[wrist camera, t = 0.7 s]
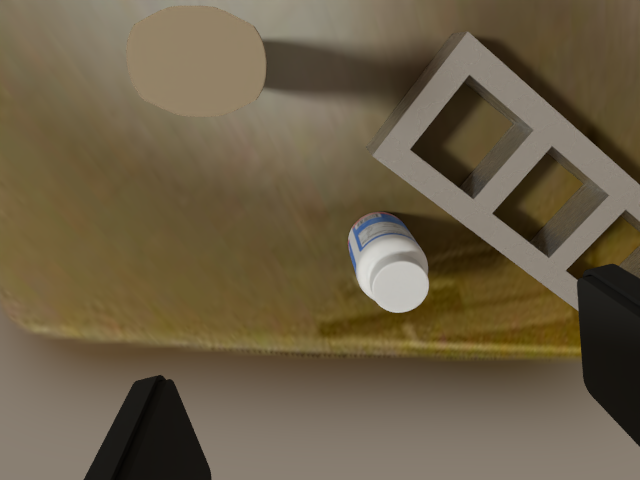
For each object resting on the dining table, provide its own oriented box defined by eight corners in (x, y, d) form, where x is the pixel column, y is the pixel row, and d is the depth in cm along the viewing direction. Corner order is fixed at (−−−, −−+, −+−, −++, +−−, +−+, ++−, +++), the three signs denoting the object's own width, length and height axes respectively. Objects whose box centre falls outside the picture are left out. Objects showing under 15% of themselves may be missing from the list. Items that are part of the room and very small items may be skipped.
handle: (279, 94, 37) (267, 116, 23) (196, 93, 37) (133, 116, 23) (277, 26, 35) (264, 6, 21) (190, 25, 35) (119, 5, 21)
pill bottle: (396, 273, 43) (422, 331, 34) (339, 259, 42) (351, 314, 33) (417, 218, 41) (450, 263, 32) (358, 202, 41) (375, 244, 32)
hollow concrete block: (365, 147, 39) (372, 155, 36) (452, 34, 36) (467, 31, 33) (591, 317, 46) (614, 338, 42) (678, 233, 43) (710, 248, 40)
